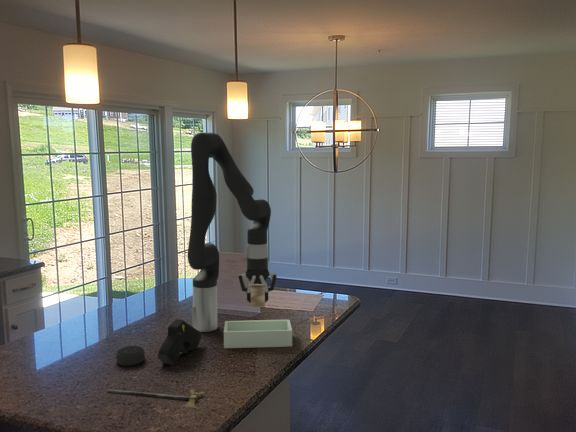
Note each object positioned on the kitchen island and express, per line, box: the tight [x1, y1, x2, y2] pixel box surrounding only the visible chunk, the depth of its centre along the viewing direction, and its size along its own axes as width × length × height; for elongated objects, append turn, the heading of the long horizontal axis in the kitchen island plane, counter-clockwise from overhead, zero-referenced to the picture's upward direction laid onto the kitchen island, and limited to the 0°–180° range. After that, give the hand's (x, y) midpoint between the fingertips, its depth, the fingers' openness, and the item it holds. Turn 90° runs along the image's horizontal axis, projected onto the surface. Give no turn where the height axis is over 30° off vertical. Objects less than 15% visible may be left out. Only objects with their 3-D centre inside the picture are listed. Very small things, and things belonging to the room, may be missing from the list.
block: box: [250, 284, 266, 308], centre depth 184 cm, size 5×5×7 cm
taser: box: [157, 318, 203, 366], centre depth 172 cm, size 4×18×15 cm
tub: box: [223, 319, 293, 349], centre depth 186 cm, size 24×12×6 cm, turn 95°
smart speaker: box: [115, 345, 146, 367], centre depth 167 cm, size 9×9×4 cm
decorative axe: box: [106, 388, 206, 409], centre depth 144 cm, size 30×2×10 cm
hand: (257, 301), depth 184 cm, fingers closed on block, 5 cm apart
